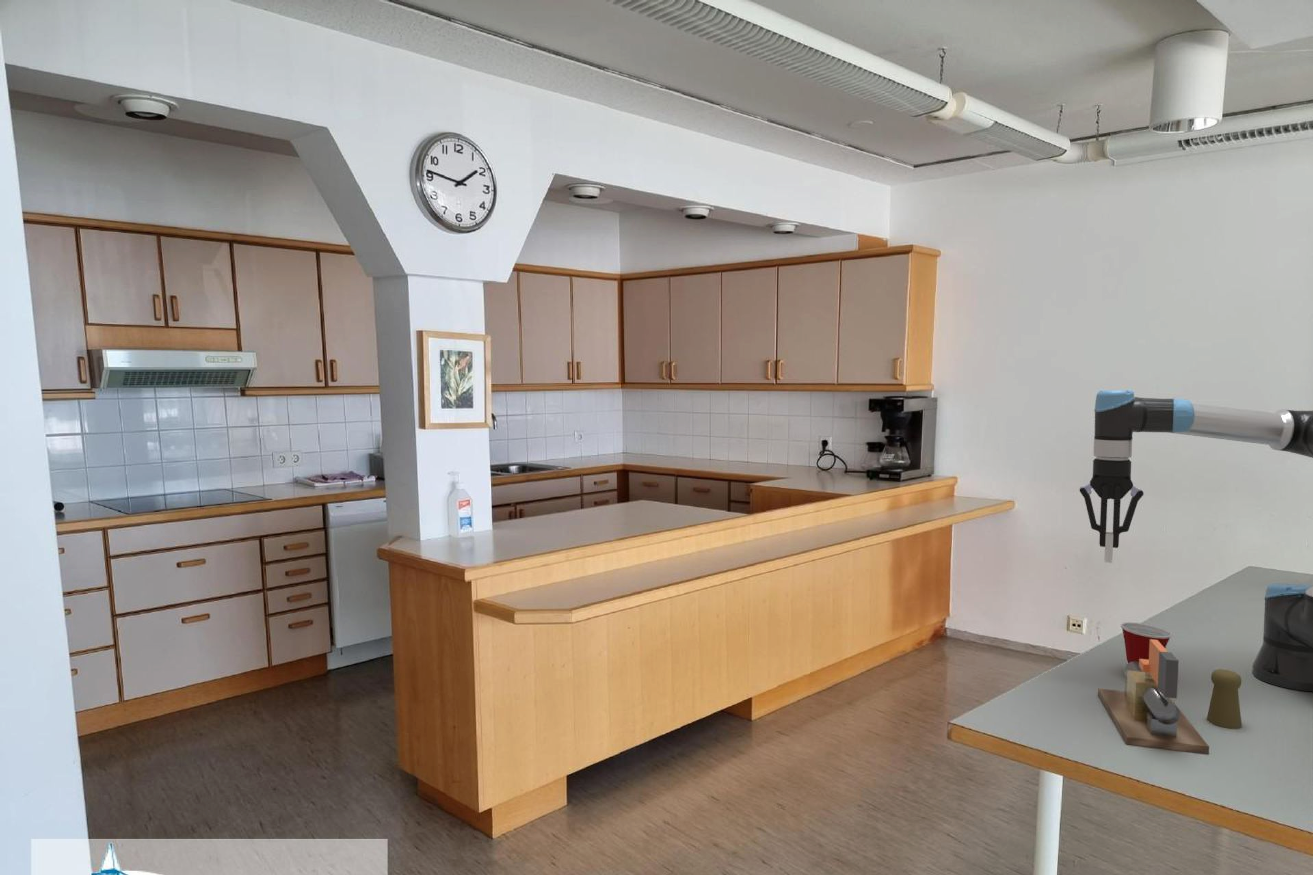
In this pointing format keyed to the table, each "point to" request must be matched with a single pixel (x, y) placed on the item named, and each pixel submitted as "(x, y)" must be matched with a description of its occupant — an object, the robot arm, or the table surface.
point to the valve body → (1149, 702)
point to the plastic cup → (1142, 639)
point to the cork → (1225, 699)
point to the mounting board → (1137, 729)
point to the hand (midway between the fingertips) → (1108, 561)
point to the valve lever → (1161, 668)
